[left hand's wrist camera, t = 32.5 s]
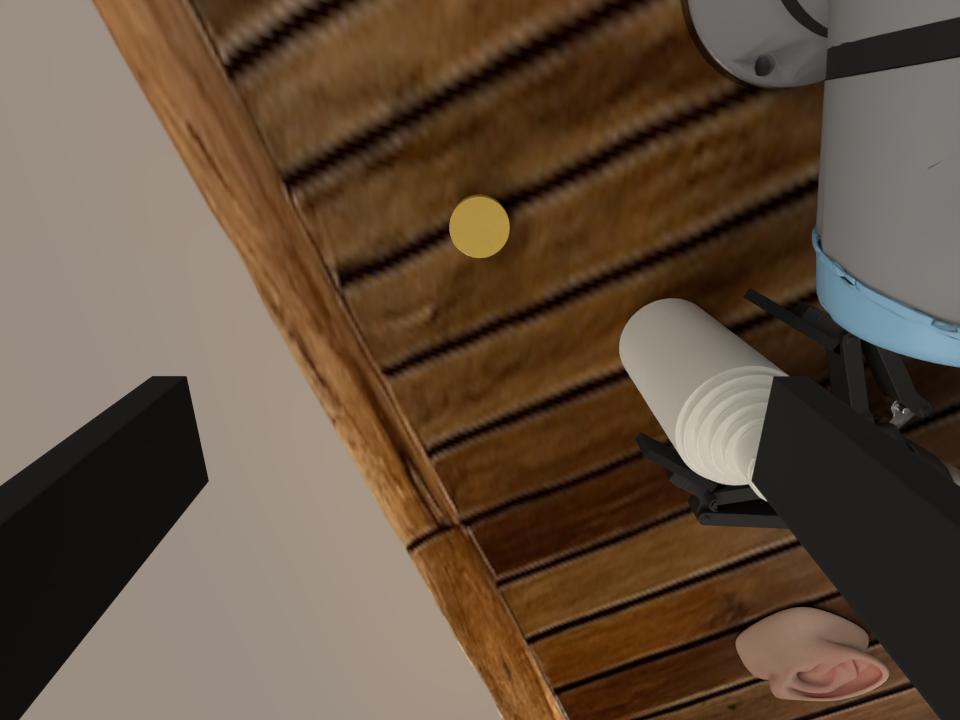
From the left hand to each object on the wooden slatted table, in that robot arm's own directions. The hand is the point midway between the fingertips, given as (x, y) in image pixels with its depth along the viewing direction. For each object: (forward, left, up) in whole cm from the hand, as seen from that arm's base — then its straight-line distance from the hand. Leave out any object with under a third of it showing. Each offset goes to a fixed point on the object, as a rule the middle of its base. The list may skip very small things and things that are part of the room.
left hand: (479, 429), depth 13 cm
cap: (0, 0, -32) cm, 32 cm away
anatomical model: (-10, +56, -33) cm, 66 cm away
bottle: (-9, +16, -33) cm, 38 cm away
